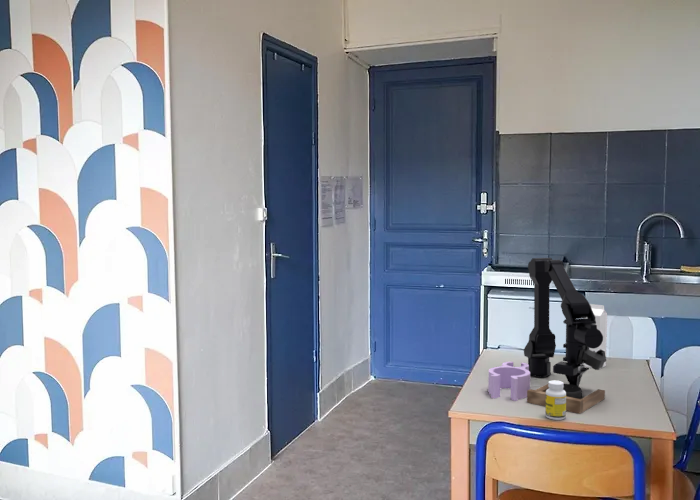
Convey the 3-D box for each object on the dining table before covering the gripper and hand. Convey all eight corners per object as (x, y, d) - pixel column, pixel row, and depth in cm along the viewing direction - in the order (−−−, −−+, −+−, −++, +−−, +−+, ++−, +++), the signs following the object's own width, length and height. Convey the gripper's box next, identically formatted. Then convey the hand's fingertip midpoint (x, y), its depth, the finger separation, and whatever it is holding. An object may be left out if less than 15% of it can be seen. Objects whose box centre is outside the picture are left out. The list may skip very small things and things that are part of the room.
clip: (498, 380, 221) (498, 360, 221) (537, 385, 216) (537, 364, 215) (482, 397, 203) (483, 375, 203) (524, 402, 198) (525, 379, 197)
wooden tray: (527, 402, 198) (527, 390, 198) (553, 388, 211) (554, 377, 211) (580, 413, 187) (580, 401, 187) (604, 398, 201) (605, 387, 200)
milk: (599, 369, 234) (600, 306, 232) (582, 366, 238) (583, 304, 236) (606, 365, 238) (607, 304, 236) (589, 363, 242) (590, 302, 240)
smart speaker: (583, 406, 194) (583, 392, 194) (551, 403, 196) (551, 390, 196) (581, 396, 203) (581, 383, 202) (550, 394, 205) (550, 382, 205)
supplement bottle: (542, 414, 187) (542, 379, 186) (561, 413, 188) (561, 379, 187) (549, 420, 182) (550, 385, 181) (569, 420, 182) (569, 384, 181)
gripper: (590, 350, 190) (589, 404, 191) (614, 339, 204) (613, 389, 205) (552, 345, 197) (551, 397, 199) (578, 334, 211) (577, 382, 213)
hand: (574, 391), depth 204 cm, fingers closed
